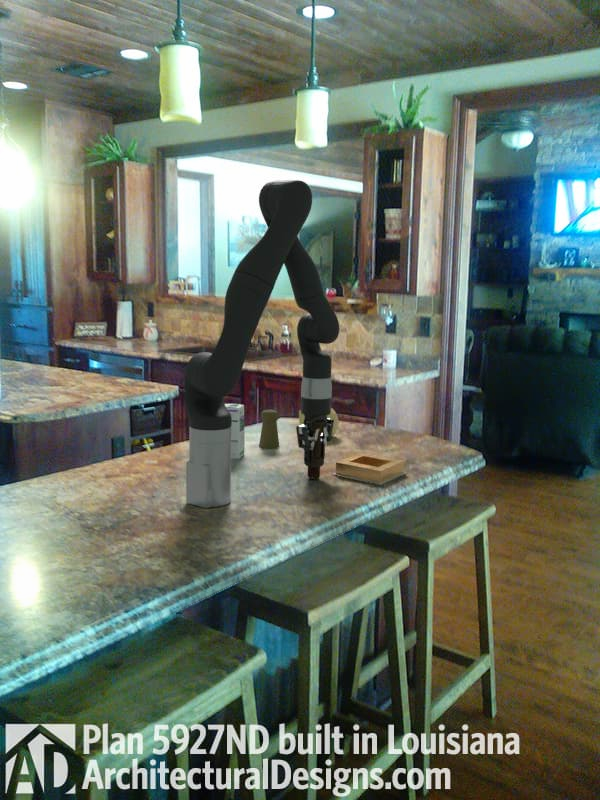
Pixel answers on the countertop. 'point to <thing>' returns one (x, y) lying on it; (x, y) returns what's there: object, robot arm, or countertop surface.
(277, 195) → the robot arm
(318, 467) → the bolt
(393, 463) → the receiver
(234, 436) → the syrup box
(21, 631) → the countertop surface
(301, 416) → the sculpture
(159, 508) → the countertop surface
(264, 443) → the cork
